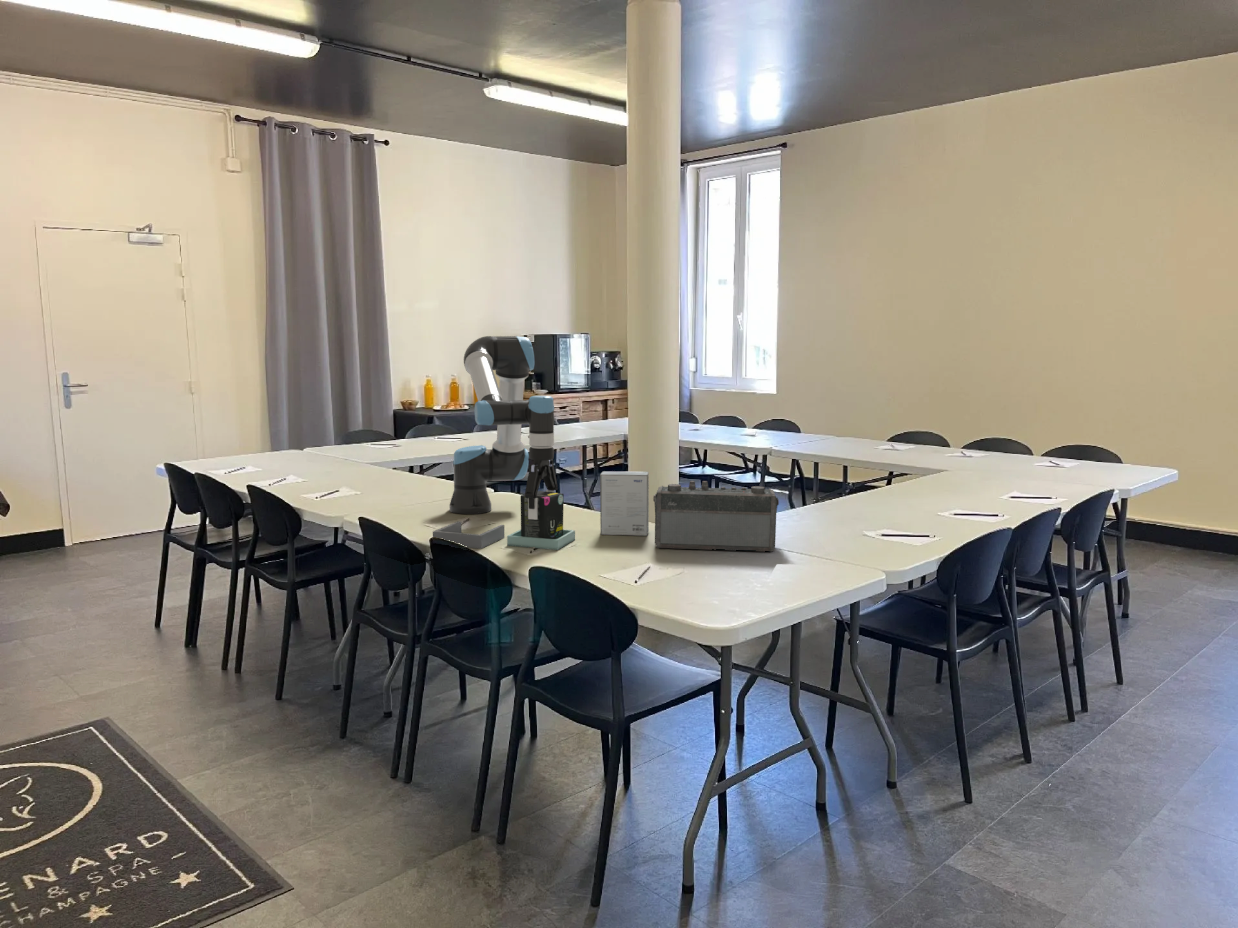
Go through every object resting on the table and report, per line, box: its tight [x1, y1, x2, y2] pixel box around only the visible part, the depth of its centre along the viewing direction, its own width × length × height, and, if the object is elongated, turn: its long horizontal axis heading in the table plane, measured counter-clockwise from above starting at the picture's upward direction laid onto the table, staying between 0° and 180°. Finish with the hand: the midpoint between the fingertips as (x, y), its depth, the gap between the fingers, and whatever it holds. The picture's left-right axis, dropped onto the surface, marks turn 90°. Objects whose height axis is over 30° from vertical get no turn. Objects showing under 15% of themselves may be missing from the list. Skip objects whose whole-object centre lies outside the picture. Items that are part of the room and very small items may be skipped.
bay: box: [432, 521, 506, 550], centre depth 277 cm, size 16×16×4 cm
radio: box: [652, 480, 780, 552], centre depth 273 cm, size 38×14×20 cm, turn 84°
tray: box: [506, 528, 576, 551], centre depth 276 cm, size 15×17×3 cm
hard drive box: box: [599, 470, 650, 537], centre depth 289 cm, size 16×8×20 cm, turn 84°
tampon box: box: [520, 490, 565, 539], centre depth 275 cm, size 11×9×15 cm
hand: (541, 515), depth 275 cm, fingers open, 13 cm apart
